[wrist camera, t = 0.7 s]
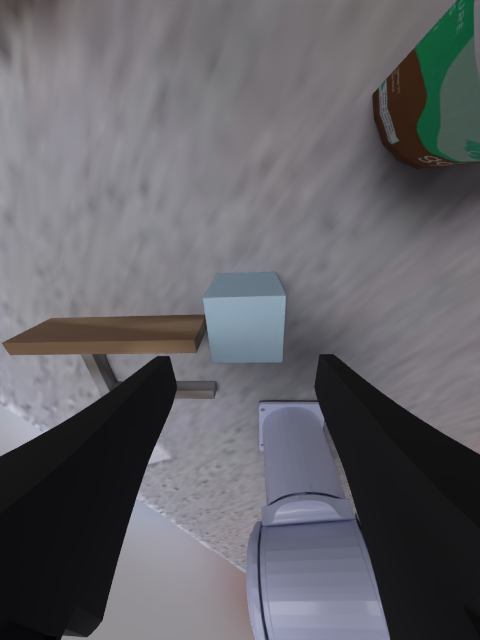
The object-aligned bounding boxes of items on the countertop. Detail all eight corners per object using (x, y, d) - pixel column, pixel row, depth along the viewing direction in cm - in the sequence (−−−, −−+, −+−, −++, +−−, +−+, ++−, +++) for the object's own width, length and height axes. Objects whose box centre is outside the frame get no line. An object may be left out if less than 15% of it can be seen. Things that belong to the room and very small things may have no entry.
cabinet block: (273, 330, 20) (281, 371, 14) (223, 331, 20) (213, 371, 15) (274, 271, 17) (286, 295, 12) (217, 273, 17) (202, 297, 12)
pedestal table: (216, 389, 24) (209, 423, 20) (88, 389, 25) (57, 422, 21) (205, 314, 19) (194, 340, 15) (50, 318, 20) (1, 343, 16)
